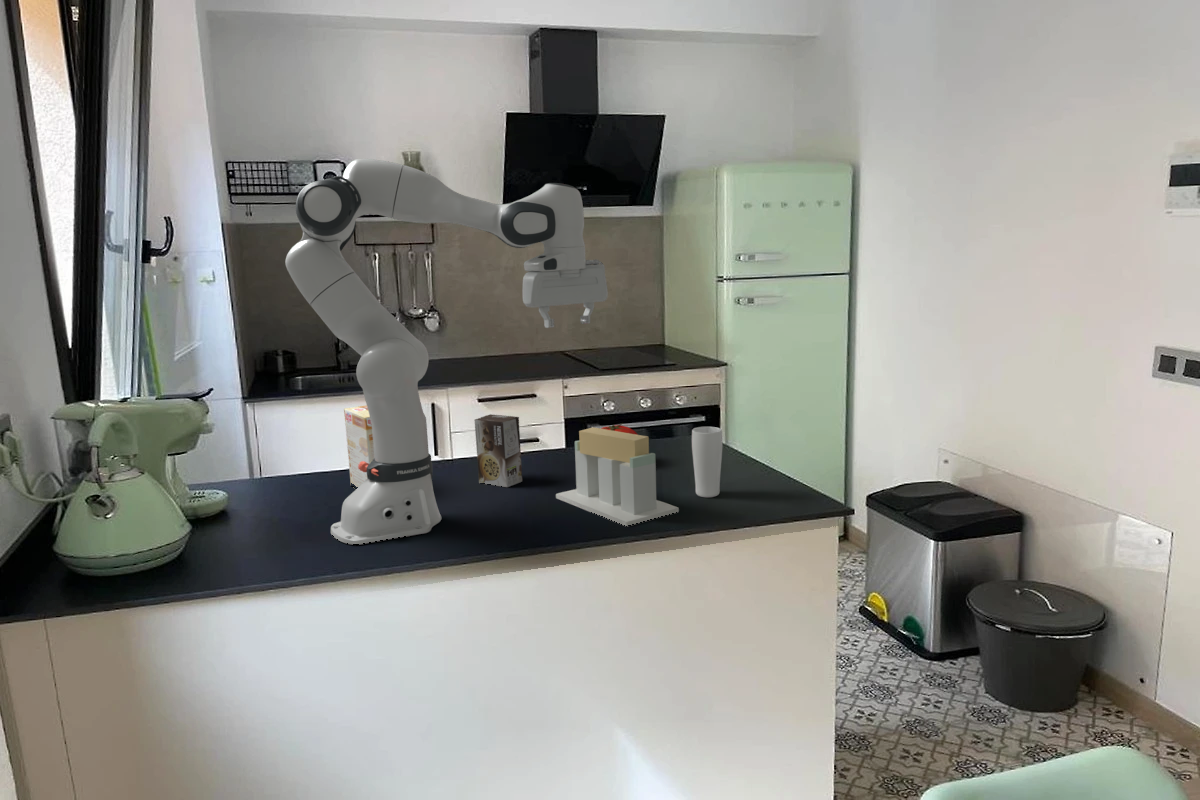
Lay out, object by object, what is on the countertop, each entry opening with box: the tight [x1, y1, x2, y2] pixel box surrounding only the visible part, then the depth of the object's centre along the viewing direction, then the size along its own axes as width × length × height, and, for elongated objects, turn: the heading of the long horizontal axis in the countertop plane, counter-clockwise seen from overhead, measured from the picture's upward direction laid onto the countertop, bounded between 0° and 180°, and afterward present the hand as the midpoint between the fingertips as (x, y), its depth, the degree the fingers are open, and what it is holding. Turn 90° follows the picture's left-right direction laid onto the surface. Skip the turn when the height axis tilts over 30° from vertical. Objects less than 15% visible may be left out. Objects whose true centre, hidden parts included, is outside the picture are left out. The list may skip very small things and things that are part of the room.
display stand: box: [555, 440, 680, 527], centre depth 188 cm, size 14×26×13 cm, turn 36°
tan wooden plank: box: [578, 427, 650, 463], centre depth 187 cm, size 4×16×5 cm, turn 48°
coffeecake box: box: [343, 404, 375, 487], centre depth 205 cm, size 15×7×20 cm, turn 34°
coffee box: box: [473, 413, 523, 488], centre depth 208 cm, size 9×6×16 cm
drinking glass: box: [691, 426, 723, 498], centre depth 193 cm, size 7×7×15 cm
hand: (567, 325), depth 187 cm, fingers open, 8 cm apart
